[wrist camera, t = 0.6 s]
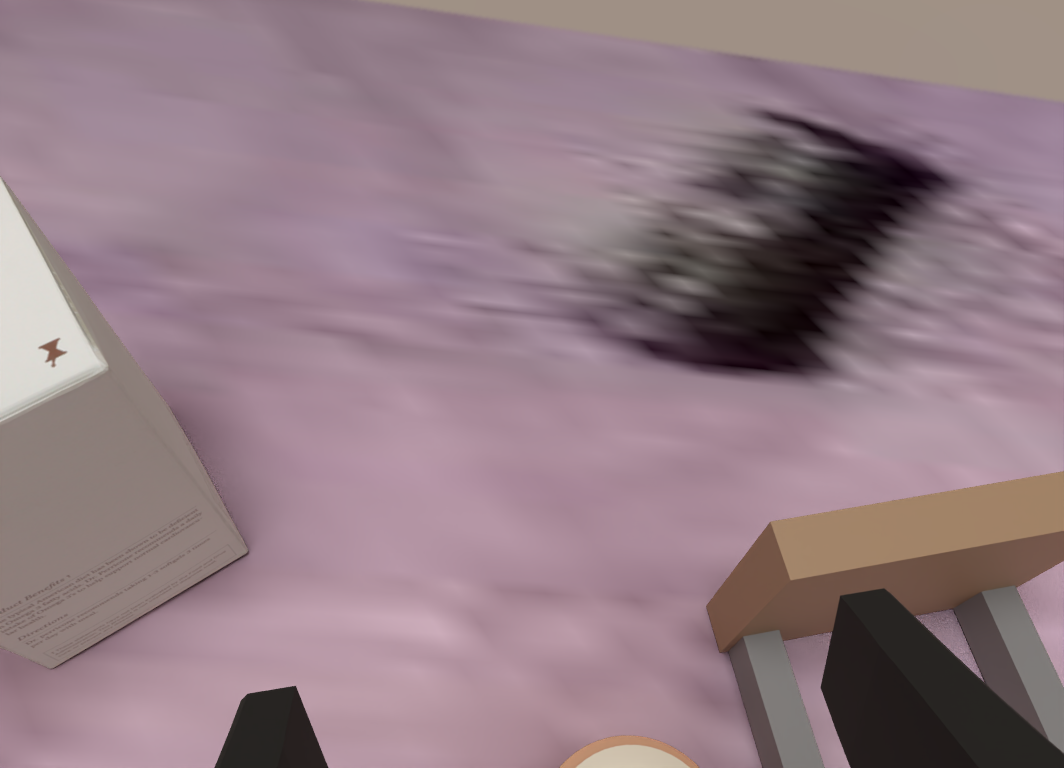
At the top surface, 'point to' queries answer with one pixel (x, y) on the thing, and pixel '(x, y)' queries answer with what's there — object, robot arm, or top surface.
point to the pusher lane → (896, 596)
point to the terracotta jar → (628, 754)
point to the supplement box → (87, 466)
